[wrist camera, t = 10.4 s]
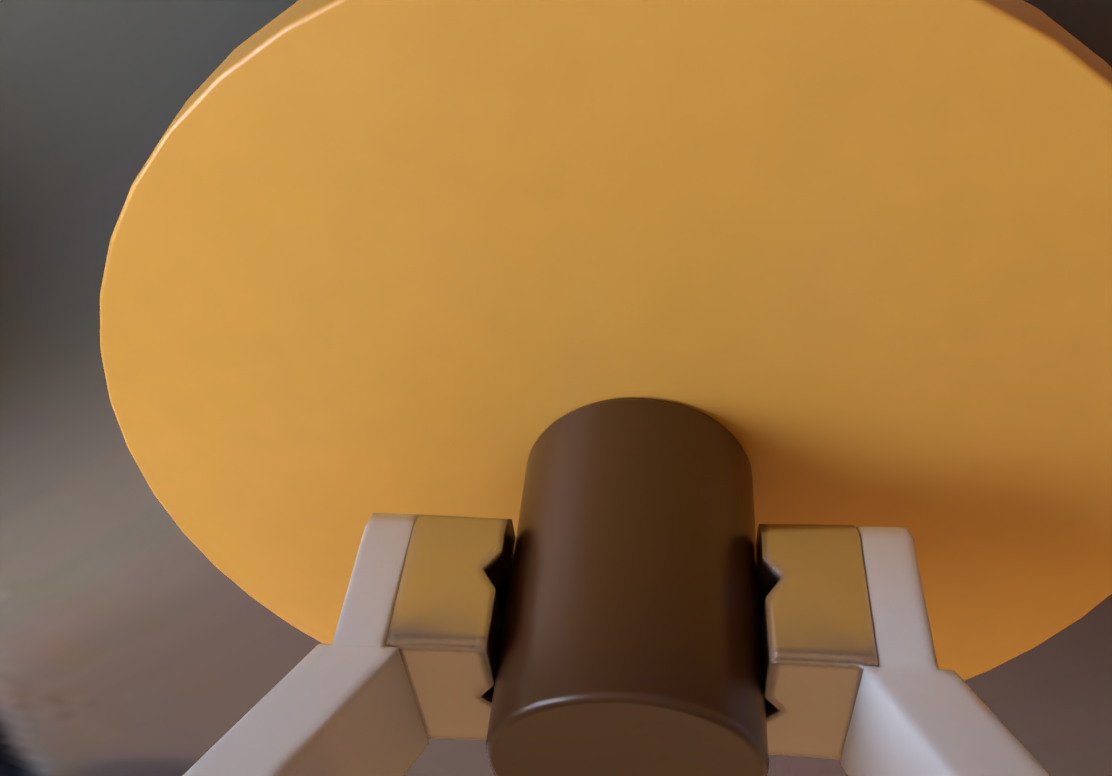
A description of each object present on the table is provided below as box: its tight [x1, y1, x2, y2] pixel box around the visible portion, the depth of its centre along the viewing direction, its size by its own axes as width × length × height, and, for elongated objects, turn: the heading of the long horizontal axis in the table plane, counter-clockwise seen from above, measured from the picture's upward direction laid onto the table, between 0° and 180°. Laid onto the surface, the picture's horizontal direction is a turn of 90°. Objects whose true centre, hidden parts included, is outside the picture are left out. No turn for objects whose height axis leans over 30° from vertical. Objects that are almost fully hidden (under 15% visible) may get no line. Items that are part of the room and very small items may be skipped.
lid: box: [100, 0, 1112, 776], centre depth 11 cm, size 12×12×5 cm
